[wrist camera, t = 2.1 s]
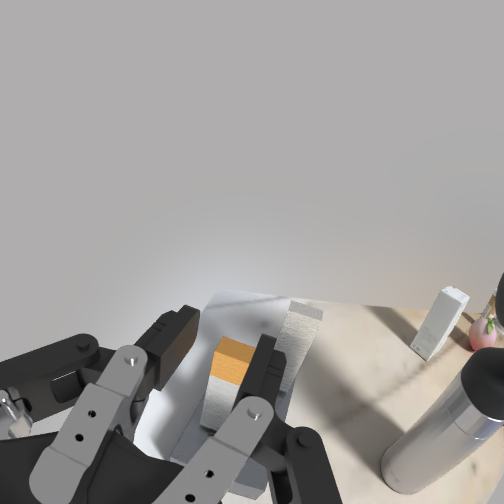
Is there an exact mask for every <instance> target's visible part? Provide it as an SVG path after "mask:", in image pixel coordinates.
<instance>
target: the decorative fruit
mask: <svg viewBox="0 0 504 504" xmlns="http://www.w3.org/2000/svg"><path fill="white" fill-rule="evenodd" d="M495 340H496V330H495V326H494V321H493V319H491V318H488V319H485V318H481V319H478V320H476V321H475V322H474V323H473V324H472V325H471V327H470V330H469V341H470V344H471V346H472V348H473V350H475V351H477V350H479V349H481V348H484V347H492V346H493V345H494V343H495Z"/></svg>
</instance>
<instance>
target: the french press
mask: <svg viewBox="0 0 504 504" xmlns="http://www.w3.org/2000/svg"><path fill="white" fill-rule="evenodd" d="M493 321H494V326H495V329H496V330H497V331H498V332H500V333H501V334H503V335H504V328H503V327H502V325H501V324H500V322H499V321H498V319H497V317H496V319H494V320H493Z"/></svg>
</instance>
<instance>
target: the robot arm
mask: <svg viewBox="0 0 504 504" xmlns="http://www.w3.org/2000/svg"><path fill="white" fill-rule="evenodd" d="M495 311H496V315H497V319H498V321H499V322H500V324H501V325H502V327H503V328H504V273H503V275H502V277H501V280H500V282H499V285H498V288H497V292H496V297H495ZM199 318H200V310H198V309H195V308H193V307H190V306H188V305H184V306H183V307H182V308H181V309H180V310H179V311H178V312H174V311H172V310H171V311H169V312H167V313H164V314H162V315H161V316H160V317H159V318H158V319H157V320H156V322H155V323H154V324H153V325H152V326H151V327H150V328H149V329H148V330H147V331H146V332H145V333H144V334H143V335H142V336H141V337H140V338H139V340H138V341H137V342H136V343H135V344H134V345H126V346H123V347H120V348H119V349H118V350H111V349H107V348H103V347H99V344H98V341H97V339H96V338H95V337H93V336H91V335H89V334H78V335H75V336H72V337H69V338H67V339H64V340H61V341H58V342H56V343H53V344H50V345H47V346H44V347H42V348H39V349H36V350H33V351H31V352H28V353H25V354H22V355H19V356H17V357H14V358H11V359H8V360H5V361H2V362H0V504H222V502H221V499H222V498H223V497H224V495H225V494H226V492H227V491H228V489H229V488H230V486H231V485H232V483H233V482H234V480H235V479H236V477H237V476H238V474H239V473H240V471H241V470H242V468H243V467H244V465H245V464H246V462H247V461H248V459H249V457H250V458H252V459H253V460H255V461H256V462H258V463H259V464H261V465H262V466H264V467H266V471H267V476H268V481H269V486H270V492H271V497H272V501H273V504H343V503H342V500H341V497H340V494H339V491H338V488H337V485H336V482H335V478H334V475H333V472H332V469H331V466H330V463H329V460H328V457H327V454H326V451H325V448H324V445H323V442H322V439H321V437H320V435H319V434H318V433H317V432H316V431H315V430H313V429H311V428H308V427H296V428H293V427H291V426H289V425H288V424H286V423H285V422H283V421H282V420H281V419H280V418H279V417H278V415H277V414H276V411H275V403H276V399H277V396H278V392H279V389H280V385H281V382H282V378H283V374H284V371H285V367H286V363H287V360H286V356H285V353H284V352H281V351H278V350H275V349H274V347H275V344H276V341H277V338H274V337H271V336H269V335H266V334H263V333H262V335H261V337H260V340H259V342H258V345H257V347H256V350H255V352H254V354H253V357H252V359H251V362H250V364H249V366H248V369H247V371H246V373H245V376H244V378H243V380H242V383H241V385H240V387H239V390H238V393H237V396H236V398H235V401H234V404H233V407H232V410H231V413H230V415H229V417H228V418H227V419H226V421H225V422H224V423H223V425H222V426H221V427H220V429H219V430H218V431H217V432H216V434H215V435H214V436H213V437H210V438H209V439H208V440H207V441H206V442H205V443H204V444H203V446H202V447H201V448H200V449H199V450H198V452H197V453H196V454H195V455H194V457H193V458H192V459H191V460H190V461H189V463H188V464H187V465H186V466H185V467H184V466H182V465H180V464H177V463H174V462H170V461H166V460H161V459H157V458H153V457H150V456H147V455H146V454H144V453H143V452H142V451H141V450H140V449H138V448H137V447H136V446H135V445H134V444H133V441H134V434H135V430H136V427H137V425H138V423H139V420H140V418H141V415H142V413H143V411H144V408H145V406H146V404H147V401H148V399H149V394H150V392H151V391H152V390H153V388H154V389H156V390H158V391H161V390H162V388H163V387H164V386H165V384H166V383H167V381H168V380H169V379H170V377H171V376H172V374H173V373H174V371H175V370H176V369H177V367H178V366H179V364H180V363H181V361H182V360H183V359H184V357H185V356H186V354H187V353H188V351H189V350H190V349H191V347H192V346H193V344H194V342H195V339H196V336H197V331H198V324H199ZM74 371H75V372H74ZM71 372H74V373H71ZM69 373H71V374H69ZM66 374H69V375H66ZM64 375H66V376H64ZM61 376H64V377H61ZM59 377H61V378H59ZM56 378H59V379H56ZM54 379H56V380H54ZM53 380H54V381H53ZM72 406H74V407H73V409H72V410H71V412H70V414H69V415H68V417H67V419H66V421H65V422H64V424H63V426H62V427H61V429H60V431H57V432H52V433H46V434H40V435H34V436H28V437H22V436H23V435H24V436H27V435H29V434H30V432H31V430H30V429H31V427H32V423H34V422H37V421H40V420H42V419H44V418H47V417H49V416H52V415H53V414H56V413H59V412H61V411H63V410H66V409H68V408H70V407H72ZM503 425H504V348H494V347H484V348H481V349H479V350H477V351H476V352H475V353H474V354H473V355H472V356H471V357H470V359H469V360H468V361H467V363H466V364H465V366H464V367H463V368H462V370H461V371H460V372H459V373H458V375H457V376H456V377H455V379H454V380H453V381H452V382H451V384H450V385H449V386H448V387H447V389H446V390H445V391H444V392H443V393H442V394H441V396H440V397H439V398H438V399H437V400H436V401H435V403H434V404H433V405H432V406H431V407H430V408H429V409H428V410H427V411H426V412H425V413H424V415H423V416H422V417H421V418H420V419H419V420H418V421H417V422H416V423H415V424H414V425H413V426H412V427H411V428H410V429H409V430H408V431H407V432H406V433H405V434H404V435H402V436H401V437H400V438H399V439H398V440H397V441H396V442H395V443H394V444H393V445H392V446H391V447H390V448H388V449H387V450H386V452H385V453H384V455H383V457H382V460H381V472H382V475H383V478H384V480H385V482H386V483H387V484H388V485H389V486H390V487H391V488H392V489H393V490H395V491H397V492H399V493H403V494H413V493H417V492H419V491H421V490H422V489H424V488H425V487H427V486H428V485H430V484H432V483H433V482H435V481H436V480H438V479H439V478H440V477H442V476H443V475H445V474H446V473H447V472H449V471H450V470H452V469H453V468H454V467H456V466H457V465H458V464H459V463H461V462H462V461H463V460H465V459H466V458H467V457H468V456H469V455H471V454H472V453H473V452H474V451H475V450H477V449H478V448H479V447H480V446H481V445H482V444H484V443H485V442H486V441H487V440H488V439H489V438H490V437H491V436H492V435H493V434H494V433H495V432H496V431H497V430H498V429H499V428H500V427H501V426H503Z"/></svg>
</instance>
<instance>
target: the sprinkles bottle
mask: <svg viewBox="0 0 504 504" xmlns="http://www.w3.org/2000/svg"><path fill="white" fill-rule="evenodd" d="M496 292H497V289H495V290H494V292H493V295H492V297H491V299H490V301H489V302H488V304H487V306H486V308H485V309H484V311H483V313H482V315H481V317H480V319H481V318H485V319H488V318H491V319H493V318H494V316H495V314H496V311H495V297H496Z"/></svg>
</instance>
